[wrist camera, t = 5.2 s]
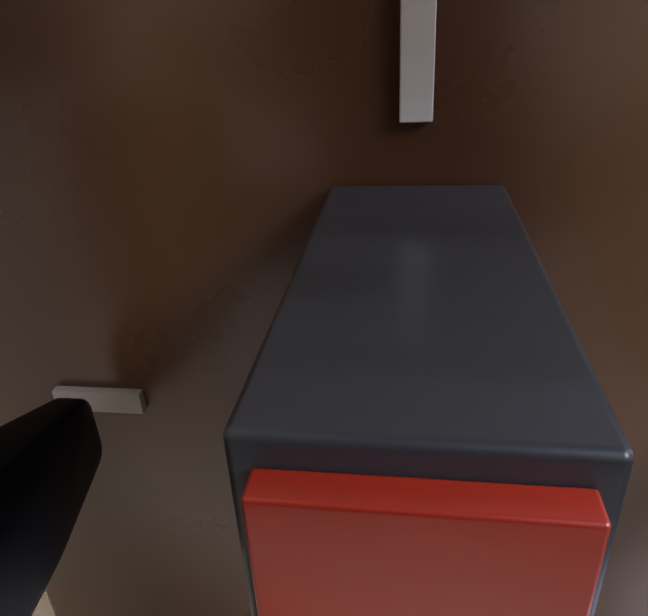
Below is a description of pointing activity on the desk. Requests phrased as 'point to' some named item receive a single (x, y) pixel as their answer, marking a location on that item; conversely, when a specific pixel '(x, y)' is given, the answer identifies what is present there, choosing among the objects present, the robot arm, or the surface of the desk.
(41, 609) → the desk surface
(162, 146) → the base
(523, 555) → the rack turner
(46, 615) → the desk surface
